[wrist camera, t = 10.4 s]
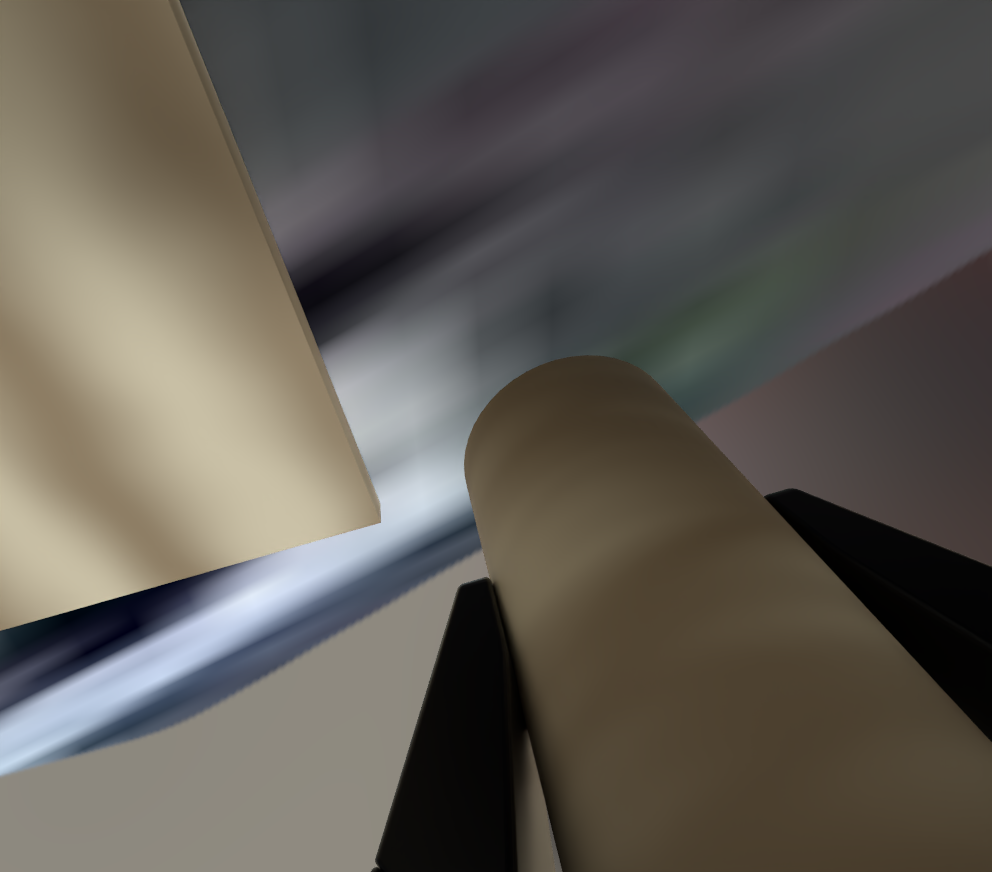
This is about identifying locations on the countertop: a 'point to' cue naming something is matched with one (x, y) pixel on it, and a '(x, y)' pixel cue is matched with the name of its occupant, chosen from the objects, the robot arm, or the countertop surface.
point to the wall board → (145, 325)
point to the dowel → (701, 654)
